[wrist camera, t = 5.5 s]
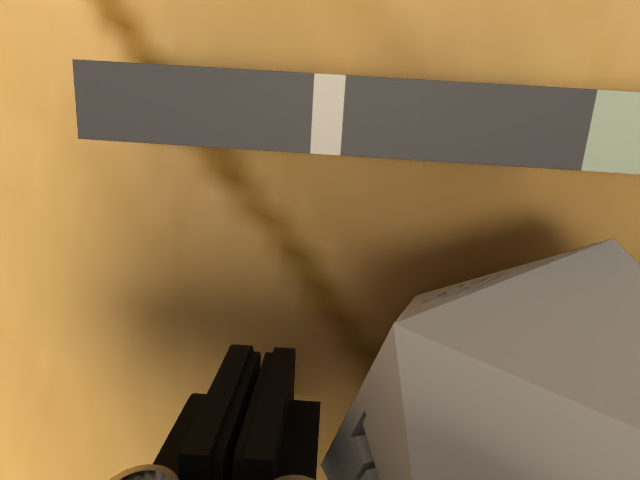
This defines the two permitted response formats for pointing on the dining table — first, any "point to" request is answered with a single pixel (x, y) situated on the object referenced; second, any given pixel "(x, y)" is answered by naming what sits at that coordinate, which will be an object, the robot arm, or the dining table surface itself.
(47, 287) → the dining table surface
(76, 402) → the dining table surface
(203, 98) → the trap lane
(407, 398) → the die
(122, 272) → the dining table surface
